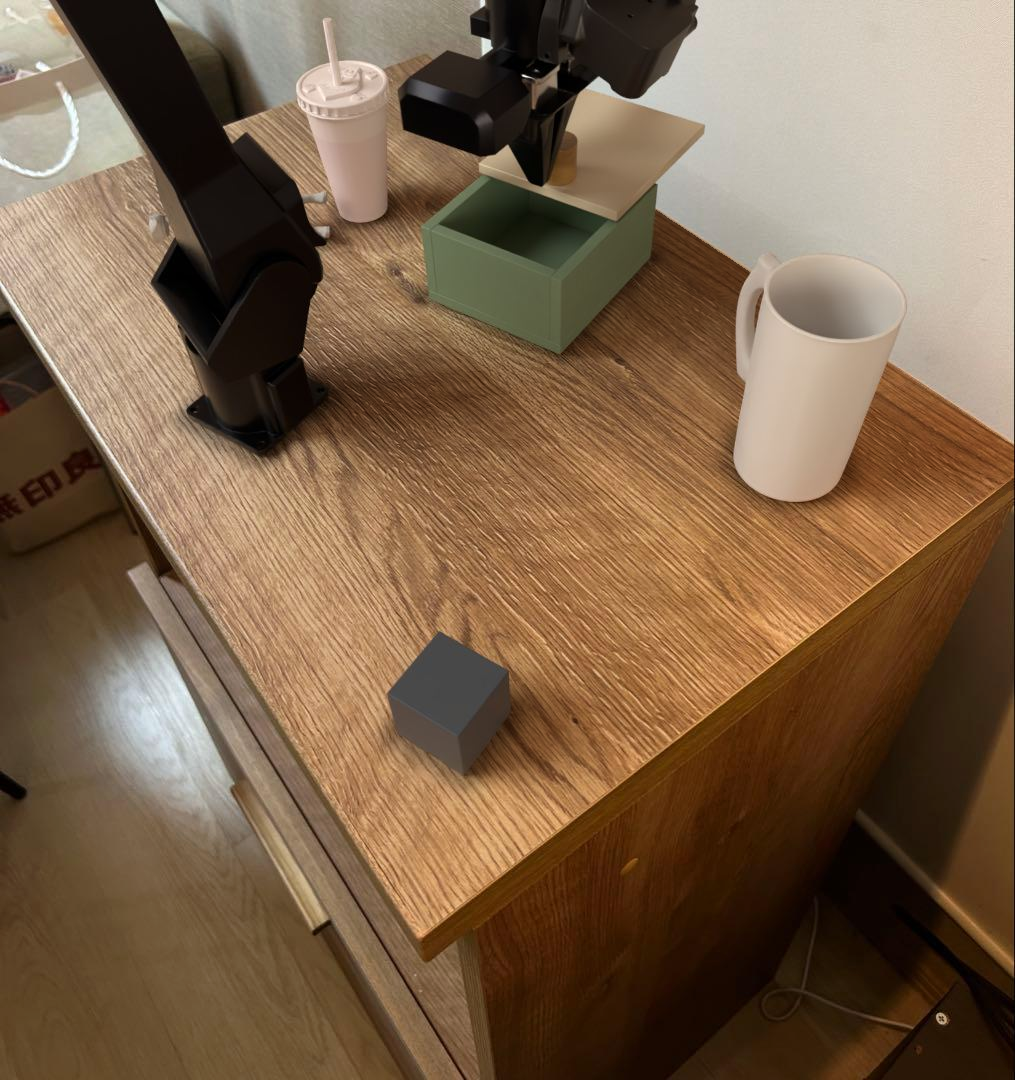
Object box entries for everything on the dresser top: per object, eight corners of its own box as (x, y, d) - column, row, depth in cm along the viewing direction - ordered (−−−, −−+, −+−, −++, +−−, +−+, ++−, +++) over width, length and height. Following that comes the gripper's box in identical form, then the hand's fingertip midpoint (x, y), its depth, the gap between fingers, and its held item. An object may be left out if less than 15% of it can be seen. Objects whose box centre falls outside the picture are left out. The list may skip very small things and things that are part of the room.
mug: (871, 482, 56) (937, 315, 46) (771, 523, 54) (819, 359, 45) (769, 374, 62) (810, 206, 52) (677, 408, 60) (702, 241, 50)
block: (396, 733, 47) (385, 693, 44) (445, 672, 49) (438, 629, 46) (464, 776, 46) (458, 737, 42) (511, 712, 48) (509, 670, 44)
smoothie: (305, 223, 73) (262, 31, 62) (345, 177, 76) (311, -13, 65) (382, 240, 71) (352, 46, 60) (419, 193, 75) (397, 1, 64)
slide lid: (478, 172, 65) (476, 127, 63) (573, 93, 71) (574, 49, 69) (616, 222, 62) (619, 175, 59) (704, 134, 68) (710, 88, 65)
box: (428, 299, 67) (420, 226, 62) (525, 211, 73) (524, 139, 68) (560, 355, 63) (561, 281, 59) (650, 257, 69) (658, 183, 65)
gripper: (575, 16, 42) (568, 307, 54) (763, -127, 51) (721, 149, 64) (373, -39, 46) (410, 243, 58) (581, -163, 55) (575, 104, 68)
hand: (538, 182), depth 62 cm, fingers closed
